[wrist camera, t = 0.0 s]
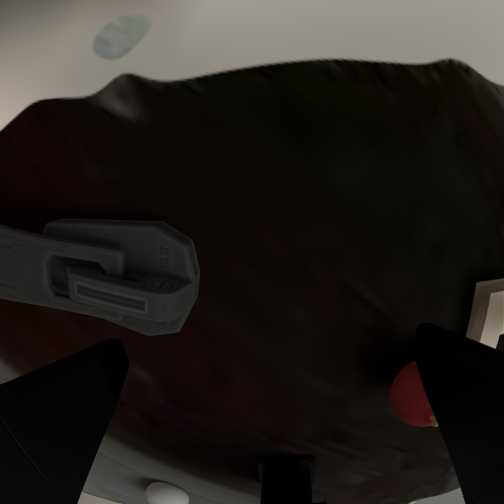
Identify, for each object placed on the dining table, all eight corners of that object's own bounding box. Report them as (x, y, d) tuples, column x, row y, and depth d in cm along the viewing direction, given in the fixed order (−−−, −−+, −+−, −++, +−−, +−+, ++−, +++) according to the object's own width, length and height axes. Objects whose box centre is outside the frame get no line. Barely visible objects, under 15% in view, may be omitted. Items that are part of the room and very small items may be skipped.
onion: (444, 362, 25) (480, 414, 17) (400, 399, 26) (424, 456, 18) (417, 330, 24) (456, 385, 16) (369, 372, 25) (391, 435, 18)
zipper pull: (-55, 206, 17) (179, 252, 17) (-11, 195, 24) (206, 227, 23) (-45, 294, 20) (172, 379, 19) (-6, 273, 26) (195, 331, 26)
